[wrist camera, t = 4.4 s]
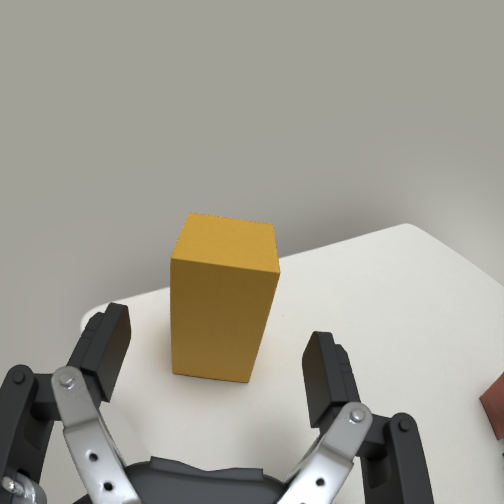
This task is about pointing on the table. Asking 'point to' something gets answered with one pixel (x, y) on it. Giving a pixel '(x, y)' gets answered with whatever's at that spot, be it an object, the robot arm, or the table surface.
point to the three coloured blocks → (495, 406)
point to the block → (221, 295)
